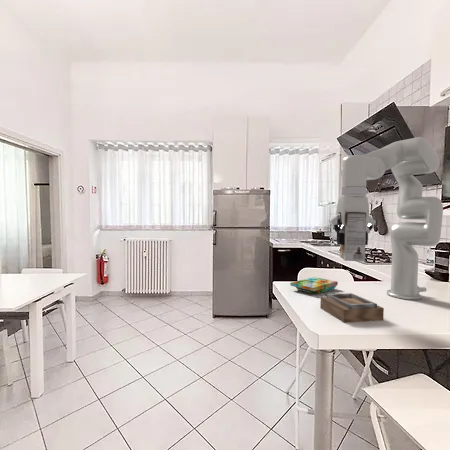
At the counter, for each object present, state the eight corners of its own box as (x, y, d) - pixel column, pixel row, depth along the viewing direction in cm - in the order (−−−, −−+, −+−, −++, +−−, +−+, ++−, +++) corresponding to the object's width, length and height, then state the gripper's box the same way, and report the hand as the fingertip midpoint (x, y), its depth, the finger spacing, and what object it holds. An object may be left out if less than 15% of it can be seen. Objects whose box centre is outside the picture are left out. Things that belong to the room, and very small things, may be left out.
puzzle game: (337, 279, 128) (313, 285, 115) (337, 290, 128) (313, 297, 115) (315, 275, 137) (290, 280, 124) (314, 285, 137) (290, 291, 124)
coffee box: (338, 257, 99) (340, 212, 99) (358, 257, 98) (359, 212, 97) (344, 260, 90) (346, 211, 90) (366, 261, 89) (367, 211, 88)
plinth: (355, 306, 102) (355, 292, 102) (383, 320, 89) (383, 304, 88) (320, 308, 100) (320, 293, 100) (343, 322, 86) (344, 305, 86)
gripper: (368, 194, 99) (367, 243, 99) (324, 193, 96) (322, 243, 96) (384, 192, 91) (382, 245, 92) (336, 191, 88) (335, 245, 89)
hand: (352, 244), depth 94 cm, fingers closed on coffee box, 8 cm apart
